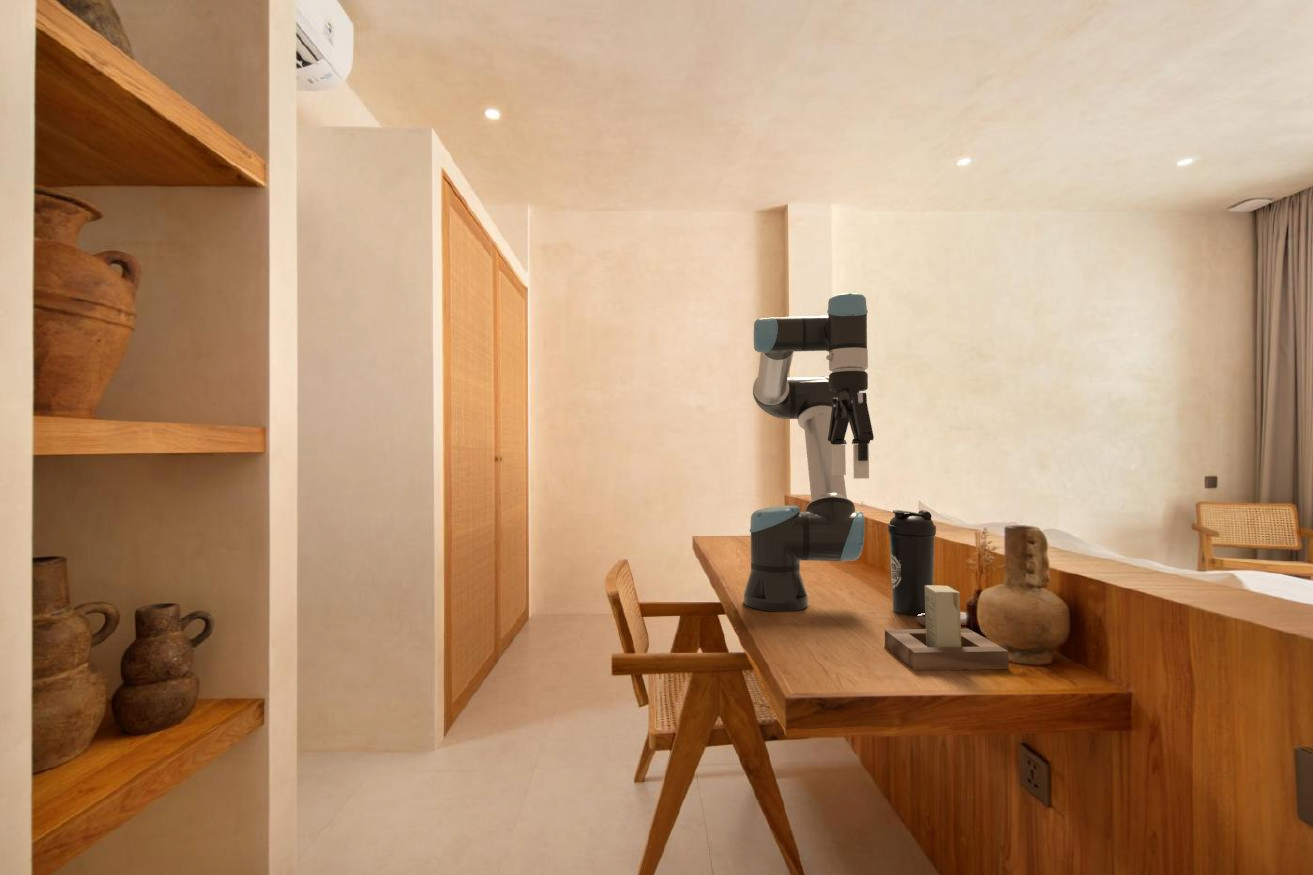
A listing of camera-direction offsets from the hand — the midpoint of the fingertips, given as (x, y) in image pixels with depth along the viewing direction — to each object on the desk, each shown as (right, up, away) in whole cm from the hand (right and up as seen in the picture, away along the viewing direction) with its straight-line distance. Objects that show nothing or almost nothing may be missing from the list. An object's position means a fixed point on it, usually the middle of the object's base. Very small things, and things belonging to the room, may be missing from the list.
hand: (849, 476), depth 124 cm
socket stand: (+13, -31, -14) cm, 36 cm away
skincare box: (+13, -32, -14) cm, 37 cm away
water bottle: (+20, -32, +17) cm, 41 cm away
